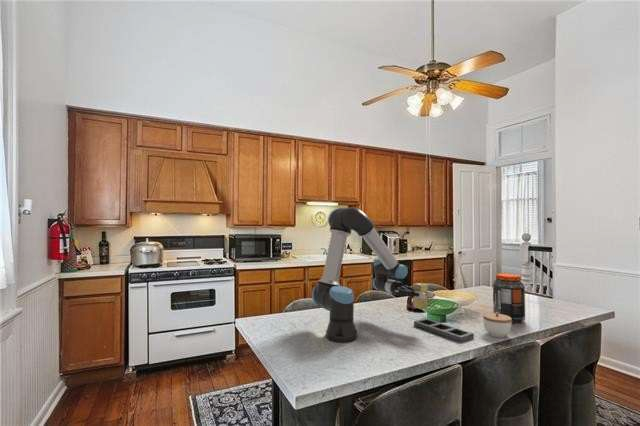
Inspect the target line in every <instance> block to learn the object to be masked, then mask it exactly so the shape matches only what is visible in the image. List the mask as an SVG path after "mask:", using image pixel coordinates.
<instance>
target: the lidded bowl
mask: <svg viewBox="0 0 640 426" xmlns="http://www.w3.org/2000/svg"><path fill="white" fill-rule="evenodd" d="M482 318H483V319H482V320H483V327H484V329H485V330H486V331H487V333H488V334H489V335H490V336H492V337H495V338H506V336H508V335H509V334H510V332H511V331H512V325H513V323H512V318H511V317H509V316H507V315H503V314H498V312H496V313H493V312H487V313H483V314H482Z"/></svg>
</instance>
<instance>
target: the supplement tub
mask: <svg viewBox="0 0 640 426" xmlns="http://www.w3.org/2000/svg"><path fill="white" fill-rule="evenodd" d="M495 278H496V279H495V280H494V281H493V284H492V299H493V300H492V301H493V302H492V304H493V309H492V310H493V311H492V313H496V312H498V314H503V315H507V316H509V317H511V318H512V324H523V323H524V322H525V321H526V300H525V299H526V293H525V290H526V289H525V285H524V283H523V282H522V276H521V275H519V274H515V273H509V272H508V273H506V272H505V273H504V272H502V273H496V274H495Z"/></svg>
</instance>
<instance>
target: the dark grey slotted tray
mask: <svg viewBox="0 0 640 426" xmlns="http://www.w3.org/2000/svg"><path fill="white" fill-rule="evenodd" d="M413 326H414V327H416V328H419V329H421V330H425V331H426V332H430V333H433V334H436V335H439V336H440V337H443V338H446V339H449V340H452V341H455V342H458V343H460V344H461V343H465V342H468V341H471V340H474V339H475V334H474V333H473V332H470V331H468V330H465V329H464V330H463V329H461V328H457V327H454V326H451V325H448V324H445V323H442V322H440V321H439V322H438V321H436V320H433V319H429V318H427V317H426V318H423V319H418V320H414V321H413Z"/></svg>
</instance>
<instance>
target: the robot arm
mask: <svg viewBox="0 0 640 426" xmlns="http://www.w3.org/2000/svg"><path fill="white" fill-rule="evenodd" d="M327 222H328V224H329V232H330V234H331V235H330V239H329V245H328V249H327V253H326V258H325V263H324V268H323V272H322V276H321V278H320V279H318V283H317V284H316V285H315V286H314V287H313V289H312V291H311V299H312V302H313V303H314V304H315V305H316V306H318V307H319V308H321V309H324V310H326V311H329V322H328V324H327V329H326V330H325V338H326V339H327V340H329V341H332V342H335V343H350V342H351V343H352V342H354V341H356V340H357V339H358V332H357V329H356V325H355V322H354V312H355V311H354V310H355V309H354V308H355V307H354V305H355V302H354V301H355V297H354V291H353V290H352V289H351V288H349V287H346V286H342V285H341V284H340V283H339V280H340V279H339V278H340V273H341V268H342V263H343V258H344V254H345V251H346V250H345V249H346V244H347V239H348V237H349V236H352V235H351V234H352V231H354V232H355V233H356V234H357V235H358V236H359V237H362V238H363V240H364V241H365V242H366V243H367V245H368V247H369V248H370V250H372V251H373V253H374V254H375V256H376V257H377V258H374V259H373V268H374V276H375V277H374V278H373V280H372V287H373V289H375V290H377V291H379V292H384V293H388V294H390V295H396V296H401V295H402V296H405V297H408V298H409V297H411V298H412V299H413V298H414V296H415V297H419V298H423V299H426V293H422V292H417V291H413V285H410V286H408V285H404V283H403V282H402V281H399V280H394V279H389V278H390V277H391V278H395V279H401V280H403V279H405V278H406V277H407V275H408V273H409V270H408V267H407V266H406V265H405V264H402V263H401V264H400V262H399V261H398V260H397V258H396V257H395V255H394V254H393V252H391V250H390V248H389V247H388V246H387V244H386V243H385V242H384V240H383V238H382V237H381V235H379V233H378V232H377V230H376V229H375V225H374V223H373V222H372V220H371V218H370V217H368V215H367V214H366V213H364V212H363V211H362V210H361V209H359V208H357V207H339V208H336V209H333V210H332V211H331V212H330V213H329V215H328V218H327ZM433 293H434V291H431V290H428V297H432V298H433Z"/></svg>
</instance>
